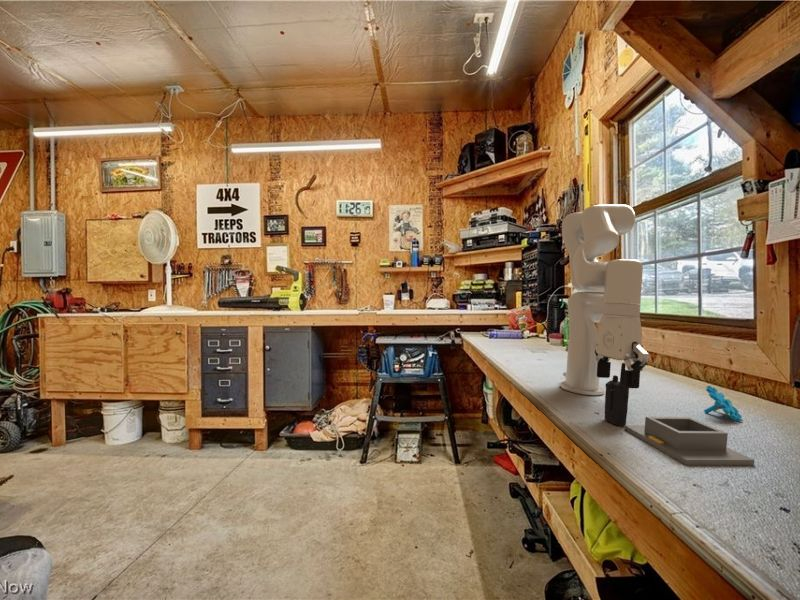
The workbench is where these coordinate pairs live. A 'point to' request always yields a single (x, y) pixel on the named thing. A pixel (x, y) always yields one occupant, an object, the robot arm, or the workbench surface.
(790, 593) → the workbench surface
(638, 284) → the robot arm
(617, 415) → the two-way radio
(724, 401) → the blue branched piece
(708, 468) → the workbench surface
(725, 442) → the charging cradle
